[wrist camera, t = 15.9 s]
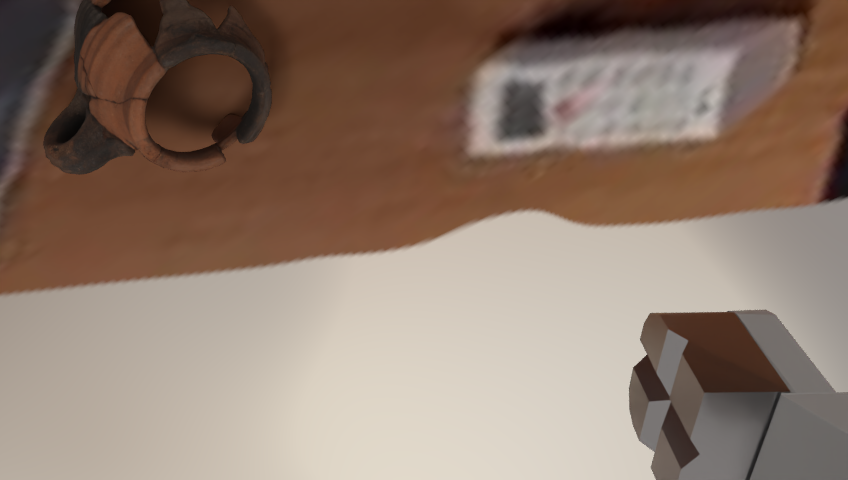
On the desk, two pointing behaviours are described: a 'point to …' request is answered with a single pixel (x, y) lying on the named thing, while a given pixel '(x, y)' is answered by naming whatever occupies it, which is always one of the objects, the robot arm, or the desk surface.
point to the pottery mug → (147, 87)
